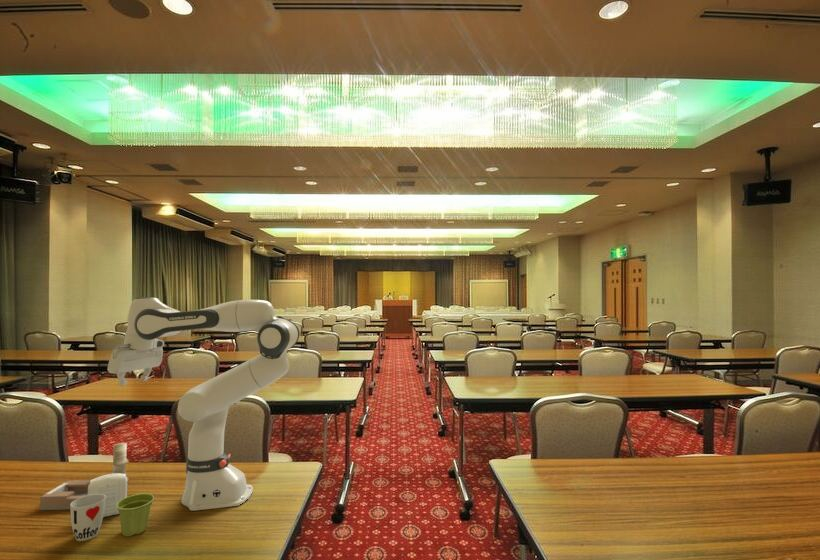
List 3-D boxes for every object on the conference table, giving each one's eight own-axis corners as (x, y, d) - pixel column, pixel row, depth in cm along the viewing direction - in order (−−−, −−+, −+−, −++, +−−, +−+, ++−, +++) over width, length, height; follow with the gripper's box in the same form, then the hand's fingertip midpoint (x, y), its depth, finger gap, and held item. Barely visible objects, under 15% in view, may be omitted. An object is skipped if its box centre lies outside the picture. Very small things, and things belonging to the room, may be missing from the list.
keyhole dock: (115, 491, 148) (115, 479, 149) (92, 508, 136) (92, 495, 137) (67, 492, 147) (68, 480, 147) (39, 510, 135) (40, 496, 136)
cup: (64, 546, 116) (66, 509, 116) (74, 531, 123) (75, 496, 124) (100, 540, 119) (101, 504, 119) (107, 525, 126) (108, 491, 127)
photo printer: (126, 507, 138) (127, 468, 138) (126, 513, 134) (127, 473, 134) (86, 516, 132) (88, 476, 132) (85, 522, 128) (87, 481, 129)
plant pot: (160, 523, 128) (161, 494, 128) (136, 541, 119) (137, 510, 119) (133, 521, 129) (134, 492, 130) (106, 538, 120) (107, 507, 120)
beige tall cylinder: (132, 479, 158) (133, 441, 159) (122, 486, 152) (123, 447, 153) (115, 479, 158) (116, 441, 159) (105, 487, 152) (106, 447, 153)
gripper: (122, 346, 136) (116, 389, 135) (167, 341, 156) (162, 379, 156) (105, 344, 137) (99, 386, 136) (152, 339, 157) (147, 376, 157)
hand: (133, 382), depth 146 cm, fingers open, 8 cm apart
